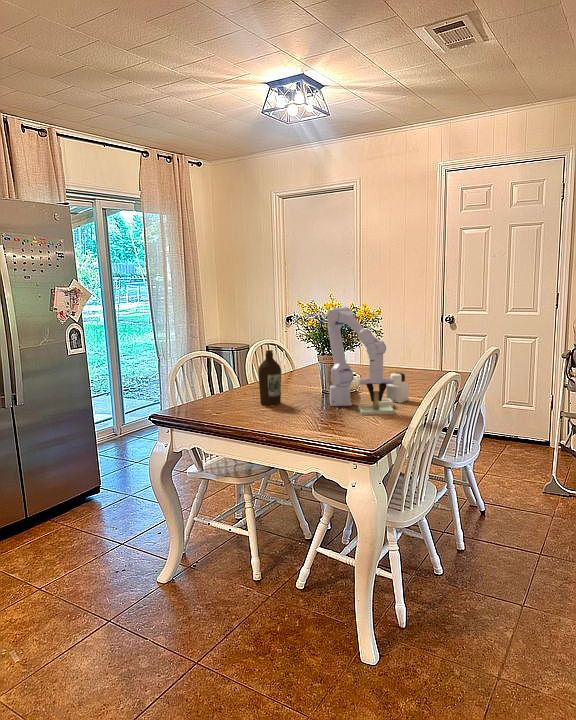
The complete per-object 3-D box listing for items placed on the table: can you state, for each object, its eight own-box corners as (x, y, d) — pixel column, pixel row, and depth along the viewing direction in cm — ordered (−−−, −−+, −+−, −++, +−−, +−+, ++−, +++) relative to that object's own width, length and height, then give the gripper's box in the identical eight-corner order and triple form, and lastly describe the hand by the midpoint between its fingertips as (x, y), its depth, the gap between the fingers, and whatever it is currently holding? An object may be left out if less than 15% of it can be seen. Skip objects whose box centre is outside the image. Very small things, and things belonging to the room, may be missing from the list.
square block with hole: (377, 408, 237) (377, 402, 237) (375, 404, 244) (375, 398, 243) (392, 407, 237) (392, 401, 237) (389, 404, 244) (389, 398, 243)
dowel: (373, 409, 230) (373, 392, 229) (372, 407, 233) (372, 390, 232) (379, 409, 230) (379, 392, 229) (379, 407, 233) (379, 390, 232)
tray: (361, 414, 227) (361, 411, 226) (358, 409, 237) (358, 406, 236) (394, 414, 227) (394, 410, 227) (390, 408, 237) (390, 405, 236)
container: (393, 398, 256) (393, 371, 254) (408, 400, 252) (409, 372, 250) (386, 401, 250) (386, 373, 248) (401, 403, 246) (401, 375, 244)
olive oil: (255, 403, 252) (253, 350, 248) (274, 399, 258) (272, 348, 254) (266, 407, 243) (265, 352, 239) (286, 404, 249) (285, 350, 245)
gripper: (360, 371, 225) (360, 403, 227) (395, 371, 225) (394, 402, 227) (358, 368, 232) (358, 399, 234) (391, 368, 232) (391, 398, 234)
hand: (376, 400), depth 231 cm, fingers closed on dowel, 3 cm apart
